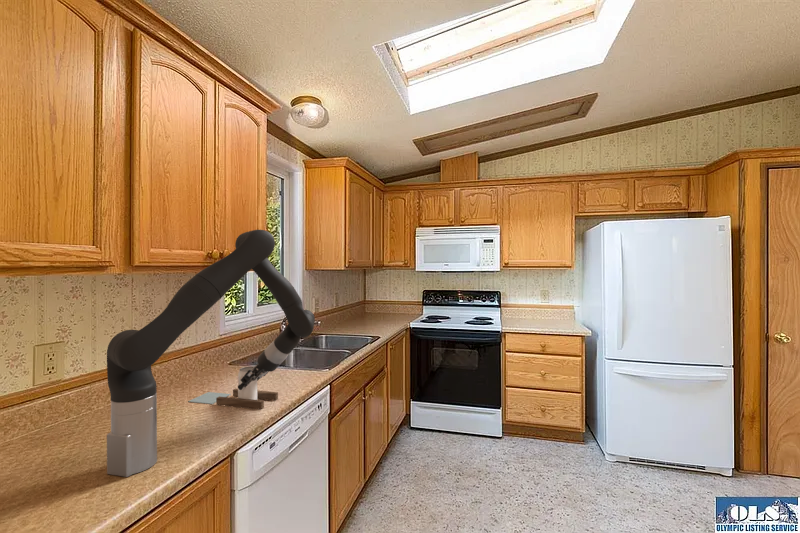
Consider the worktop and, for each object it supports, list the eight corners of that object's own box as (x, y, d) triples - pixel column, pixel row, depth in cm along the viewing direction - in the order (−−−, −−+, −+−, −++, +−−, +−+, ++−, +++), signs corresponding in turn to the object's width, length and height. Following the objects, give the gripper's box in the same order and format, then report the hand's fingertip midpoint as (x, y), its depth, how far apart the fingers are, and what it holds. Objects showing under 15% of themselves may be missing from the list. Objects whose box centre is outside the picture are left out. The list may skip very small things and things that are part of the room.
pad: (211, 404, 133) (211, 403, 133) (188, 402, 135) (188, 401, 135) (230, 394, 143) (230, 394, 143) (208, 392, 145) (208, 391, 145)
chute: (261, 409, 128) (261, 402, 128) (216, 405, 132) (216, 397, 132) (278, 399, 138) (278, 392, 138) (235, 395, 142) (235, 388, 142)
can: (250, 405, 131) (250, 371, 131) (234, 404, 133) (233, 370, 133) (261, 399, 138) (260, 366, 138) (245, 398, 139) (245, 365, 139)
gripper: (278, 342, 140) (251, 372, 143) (255, 352, 126) (225, 384, 129) (291, 357, 139) (263, 387, 142) (269, 368, 125) (238, 401, 128)
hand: (245, 386), depth 136 cm, fingers closed on can, 5 cm apart
